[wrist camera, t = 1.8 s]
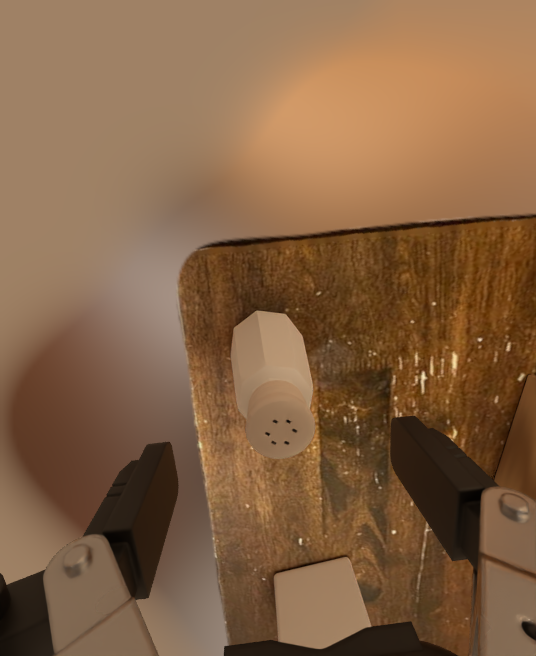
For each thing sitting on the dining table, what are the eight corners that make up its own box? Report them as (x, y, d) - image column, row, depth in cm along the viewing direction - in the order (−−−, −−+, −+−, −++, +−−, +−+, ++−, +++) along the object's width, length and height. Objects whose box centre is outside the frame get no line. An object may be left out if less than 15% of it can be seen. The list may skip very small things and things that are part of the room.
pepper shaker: (279, 390, 24) (302, 508, 13) (215, 358, 23) (187, 457, 12) (317, 331, 23) (376, 407, 12) (252, 294, 22) (255, 342, 11)
